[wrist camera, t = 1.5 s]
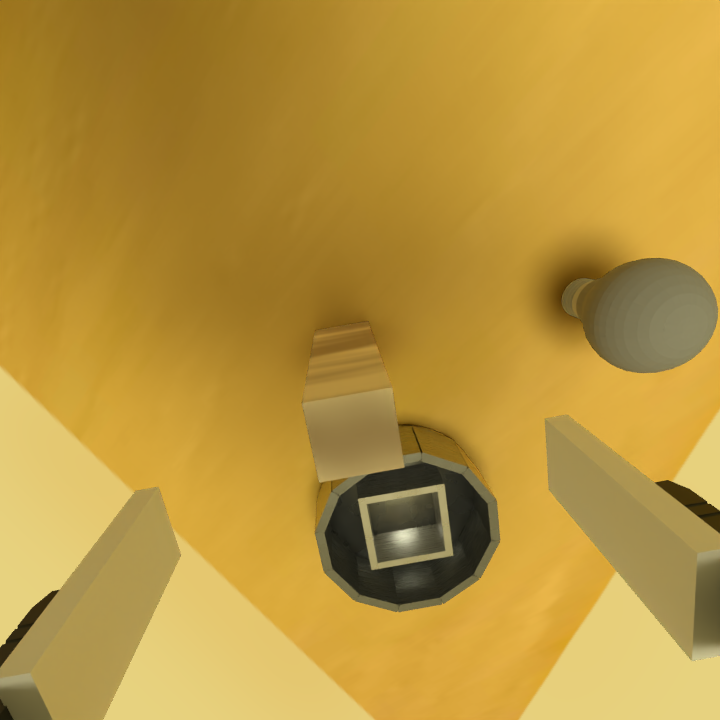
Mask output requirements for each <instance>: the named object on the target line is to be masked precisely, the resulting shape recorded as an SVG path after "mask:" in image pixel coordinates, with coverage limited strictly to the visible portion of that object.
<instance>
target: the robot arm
mask: <svg viewBox="0 0 720 720" xmlns="http://www.w3.org/2000/svg"><path fill="white" fill-rule="evenodd" d="M545 430H546V448H547V466H548V484H549V491H550V492H551V493H552V494H553V495H554V497H555V498H556V499H557V500H558V501H559V503H560V504H561V505H562V506H563V507H564V509H565V510H566V511H567V512H568V513H569V515H570V516H571V517H572V518H573V519H574V521H575V522H576V523H577V524H578V525H579V527H580V528H581V529H582V530H583V531H584V532H585V534H586V535H587V536H588V537H589V538H590V540H591V541H592V542H593V543H594V544H595V546H596V547H597V548H598V549H599V550H600V552H601V553H602V554H603V555H604V556H605V558H606V559H607V560H608V561H609V562H610V564H611V565H612V566H613V567H614V568H615V570H616V571H617V572H618V573H619V574H620V576H621V577H622V578H623V579H624V580H625V582H626V583H627V584H628V585H629V586H630V587H631V589H632V590H633V591H634V592H635V594H637V596H638V597H639V598H640V600H641V601H642V602H643V603H644V604H645V606H646V607H647V608H648V609H649V610H650V612H651V613H652V614H653V615H654V616H655V618H656V619H657V620H658V621H659V622H660V624H661V625H662V626H663V627H664V628H665V630H666V631H667V632H668V633H669V634H670V635H671V637H672V638H673V639H674V640H675V641H676V643H677V644H678V645H679V646H680V647H681V649H682V650H683V651H684V652H685V653H686V655H687V656H688V657H689V658H690V659H691V660H692V661H695V660H701V659H706V658H711V657H717V656H720V511H719V510H718V509H717V508H715V507H714V506H712V505H711V504H707V501H705V500H704V499H703V498H701V497H700V496H698V495H697V494H696V493H694V492H693V491H691V490H690V489H688V488H686V487H683V486H680V485H678V484H676V483H674V482H671V481H669V480H666V481H661V482H655V483H654V482H653V481H652V480H650V479H649V478H648V477H647V476H645V475H644V474H643V473H641V472H640V471H639V470H638V469H636V468H635V467H634V466H632V465H631V464H630V463H629V462H627V461H626V460H625V459H624V458H622V457H621V456H620V455H618V454H617V453H616V452H615V451H613V450H612V449H611V448H609V447H608V446H607V445H606V444H604V443H603V442H602V441H600V440H599V439H598V438H597V437H595V436H594V435H593V434H592V433H590V432H589V431H588V430H586V429H585V428H584V427H583V426H581V425H580V424H579V423H577V422H576V421H575V420H574V419H572V418H571V417H570V416H568V415H562V416H556V417H551V418H545ZM180 556H181V554H180V550H179V547H178V545H177V541H176V539H175V535H174V532H173V529H172V526H171V523H170V520H169V517H168V514H167V511H166V508H165V505H164V502H163V499H162V496H161V493H160V490H159V487H154V488H149V489H143V490H137V491H135V492H134V494H133V495H132V496H131V498H130V499H129V500H128V502H127V503H126V504H125V505H124V507H123V508H122V510H121V511H120V512H119V513H118V515H117V516H116V517H115V519H114V520H113V521H112V522H111V524H110V525H109V527H108V528H107V529H106V530H105V532H104V533H103V534H102V536H101V537H100V538H99V539H98V541H97V542H96V543H95V545H94V546H93V547H92V549H91V550H90V551H89V553H88V554H87V555H86V556H85V558H84V559H83V560H82V562H81V563H80V564H79V565H78V567H77V568H76V569H75V571H74V572H73V573H72V575H71V576H70V577H69V578H68V580H67V581H66V583H65V584H64V585H63V586H62V588H61V589H60V590H57V591H52V592H51V593H49V594H48V595H47V596H46V597H45V598H43V599H42V600H41V601H40V602H39V603H37V604H36V605H35V606H34V607H33V608H32V609H31V610H30V611H29V612H28V614H27V615H26V616H25V618H24V619H23V620H22V621H21V622H20V624H19V625H18V629H15V630H14V631H13V632H12V634H11V635H10V636H9V638H8V639H7V640H6V644H4V645H2V646H1V647H0V720H103V719H104V717H105V715H106V712H107V710H108V708H109V706H110V704H111V702H112V700H113V698H114V695H115V694H116V691H117V689H118V687H119V685H120V683H121V681H122V679H123V677H124V674H125V672H126V670H127V668H128V666H129V664H130V662H131V660H132V658H133V656H134V653H135V651H136V649H137V647H138V645H139V643H140V641H141V639H142V637H143V634H144V632H145V630H146V628H147V626H148V624H149V622H150V620H151V618H152V615H153V613H154V611H155V609H156V607H157V605H158V603H159V601H160V598H161V596H162V594H163V592H164V590H165V588H166V586H167V584H168V582H169V579H170V577H171V575H172V573H173V571H174V569H175V566H176V565H177V563H178V560H179V558H180Z"/></svg>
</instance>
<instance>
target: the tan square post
mask: <svg viewBox="0 0 720 720" xmlns="http://www.w3.org/2000/svg"><path fill="white" fill-rule="evenodd" d="M302 406H303V411H304V416H305V420H306V425H307V429H308V434H309V438H310V443H311V448H312V452H313V457H314V461H315V466H316V471H317V475H318V480H319V483H320V482H325V481H331V480H337V479H343V478H348V477H354V476H360V475H365V474H371V473H377V472H382V471H388V470H394V469H399V468H405V467H404V461H403V454H402V448H401V441H400V435H399V428H398V422H397V415H396V409H395V402H394V396H393V389H392V385H391V383H390V380H389V377H388V374H387V372H386V369H385V366H384V363H383V361H382V358H381V355H380V352H379V350H378V347H377V344H376V341H375V338H374V336H373V333H372V330H371V327H370V325H369V322H368V321H366V322H360V323H354V324H348V325H343V326H337V327H331V328H325V329H320V330H315V333H314V339H313V344H312V350H311V355H310V361H309V366H308V372H307V377H306V383H305V388H304V394H303V399H302Z"/></svg>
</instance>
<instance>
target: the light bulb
mask: <svg viewBox="0 0 720 720" xmlns="http://www.w3.org/2000/svg"><path fill="white" fill-rule="evenodd" d="M562 306H563V309H564V310H565V311H566V313H568V314H569V315H571V316H574V317H576V318H579V319H580V320H581V322H582V323H583V328H584V332H585V335H586V338H587V340H588V341H589V343H590V345H591V346H592V348H593V349H594V350H595V351H596V352H597V353H598V354H599V356H600V357H602V358H603V359H604V360H606V361H607V362H609V363H610V364H612V365H614V366H616V367H618V368H620V369H623V370H625V371H631V372H637V373H656V372H661V371H665V370H669V369H673V368H675V367H677V366H680V365H682V364H684V363H686V362H688V361H689V360H691V359H692V358H694V357H695V356H696V355H697V354H698V353H700V352H701V350H702V349H703V348H704V347H705V346H706V345H707V343H708V342H709V340H710V338H711V337H712V335H713V332H714V330H715V327H716V323H717V318H718V307H717V302H716V298H715V295H714V293H713V291H712V289H711V287H710V286H709V284H708V283H707V282H706V280H705V279H704V278H703V277H702V276H701V275H700V274H699V273H698V272H696V271H695V270H694V269H692V268H691V267H689V266H687V265H685V264H683V263H680V262H678V261H675V260H670V259H663V258H647V259H640V260H636V261H631V262H628V263H625V264H623V265H621V266H618V267H616V268H614V269H613V270H611V271H610V272H608V273H607V274H606V275H604V276H603V277H602V278H599V279H596V280H593V279H588V278H581V279H577V280H575V281H573V282H571V283H570V284H569V285H568V286H567V287H566V289H565V290H564V292H563V295H562Z"/></svg>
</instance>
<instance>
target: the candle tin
mask: <svg viewBox="0 0 720 720" xmlns="http://www.w3.org/2000/svg"><path fill="white" fill-rule="evenodd" d="M398 428H399V435H400V441H401V448H402V454H403V461H404V467H405V468H399V469H394V470H388V471H382V472H377V473H371V474H365V475H360V476H354V477H348V478H343V479H337V480H331V481H325V482H322V484H321V489H320V491H319V494H318V496H317V508H316V524H315V535H316V540H317V544H318V548H319V553H320V557H321V562H322V566H323V570H324V572H325V574H326V575H327V576H328V577H329V578H331V579H332V580H333V581H334V582H335V583H336V584H337V585H338V586H339V587H340V588H341V589H342V590H343V591H344V592H345V593H347V594H348V595H349V596H350V597H351V598H352V599H353V600H355V601H356V602H360V603H364V604H368V605H372V606H376V607H379V608H383V609H387V610H391V611H395V612H397V611H398V612H402V611H408V610H413V609H419V608H425V607H430V606H436V605H441V604H442V603H443V604H444V603H446V602H447V601H448V600H450V599H451V598H453V597H454V596H456V595H457V594H459V593H460V592H462V591H463V590H465V589H466V588H467V587H469V586H470V585H472V584H473V583H475V582H476V581H478V580H479V578H481V576H482V575H483V573H484V571H485V569H486V567H487V565H488V563H489V561H490V560H491V558H492V556H493V554H494V552H495V550H496V548H497V546H498V544H499V543H500V532H499V521H498V510H497V501H496V499H495V497H494V495H493V493H492V492H491V490H490V488H489V487H488V485H487V483H486V482H485V480H484V478H483V477H482V475H481V473H480V472H479V470H478V468H477V467H476V466H475V465H474V464H473V462H472V461H471V460H470V459H469V457H468V456H467V455H466V453H465V452H464V451H463V450H462V449H461V448H460V447H459V445H458V444H456V442H455V441H454V440H452V439H451V438H449V437H447V436H445V435H443V434H442V433H440V432H437V431H435V430H432V429H429V428H425V427H421V426H415V425H398Z"/></svg>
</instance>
